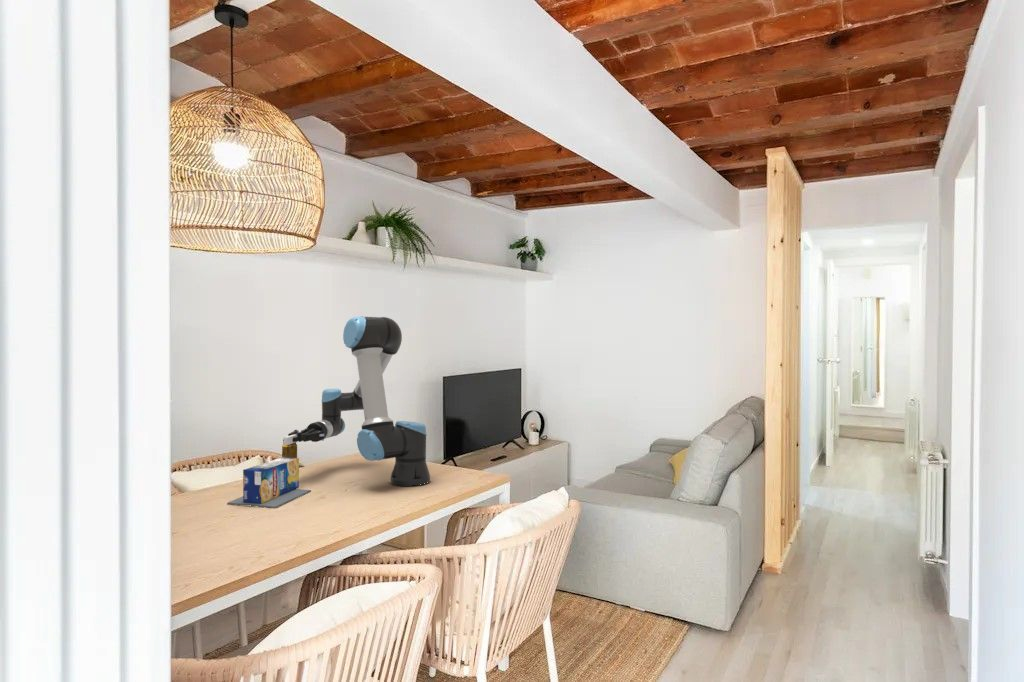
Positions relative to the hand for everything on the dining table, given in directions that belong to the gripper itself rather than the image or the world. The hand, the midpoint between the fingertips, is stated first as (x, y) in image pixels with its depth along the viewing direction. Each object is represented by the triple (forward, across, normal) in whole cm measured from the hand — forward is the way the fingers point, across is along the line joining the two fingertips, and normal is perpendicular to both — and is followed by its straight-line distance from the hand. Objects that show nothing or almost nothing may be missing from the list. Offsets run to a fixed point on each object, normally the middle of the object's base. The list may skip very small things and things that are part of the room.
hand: (285, 441), depth 232 cm
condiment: (-36, +20, -18) cm, 45 cm away
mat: (+10, 0, -18) cm, 20 cm away
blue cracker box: (-3, 0, -12) cm, 12 cm away
